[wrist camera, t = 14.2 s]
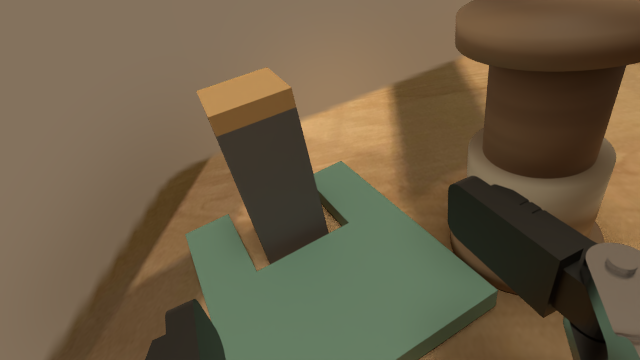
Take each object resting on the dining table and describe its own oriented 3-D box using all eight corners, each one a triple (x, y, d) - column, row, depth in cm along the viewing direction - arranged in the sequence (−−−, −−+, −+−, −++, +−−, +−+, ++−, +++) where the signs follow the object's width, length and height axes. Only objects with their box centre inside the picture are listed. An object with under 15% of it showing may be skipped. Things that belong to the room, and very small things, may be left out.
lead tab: (306, 203, 26) (267, 67, 20) (329, 237, 23) (291, 87, 17) (253, 226, 25) (196, 90, 19) (270, 265, 22) (207, 117, 16)
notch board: (343, 173, 28) (341, 160, 27) (495, 305, 17) (497, 289, 16) (192, 246, 24) (185, 234, 24) (262, 467, 14) (252, 457, 13)
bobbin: (510, 184, 23) (541, -26, 16) (632, 250, 18) (758, -21, 11) (424, 233, 21) (416, 20, 14) (532, 324, 16) (605, 54, 9)
